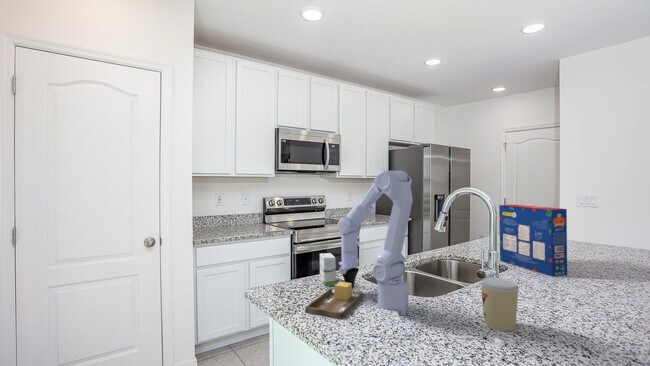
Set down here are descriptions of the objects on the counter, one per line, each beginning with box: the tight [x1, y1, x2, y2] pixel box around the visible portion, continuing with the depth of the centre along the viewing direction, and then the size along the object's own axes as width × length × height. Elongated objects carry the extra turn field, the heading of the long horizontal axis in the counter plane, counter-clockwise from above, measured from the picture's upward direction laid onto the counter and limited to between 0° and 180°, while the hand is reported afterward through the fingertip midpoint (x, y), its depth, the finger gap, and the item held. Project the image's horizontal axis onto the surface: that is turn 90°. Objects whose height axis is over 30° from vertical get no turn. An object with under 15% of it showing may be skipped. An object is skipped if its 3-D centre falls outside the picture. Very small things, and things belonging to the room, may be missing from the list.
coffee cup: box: [480, 277, 520, 332], centre depth 90 cm, size 9×9×12 cm
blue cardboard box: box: [498, 204, 568, 277], centre depth 148 cm, size 28×8×28 cm, turn 14°
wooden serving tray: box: [304, 287, 364, 320], centre depth 104 cm, size 12×19×3 cm, turn 155°
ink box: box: [319, 252, 337, 287], centre depth 127 cm, size 9×5×12 cm, turn 12°
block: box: [334, 281, 353, 301], centre depth 110 cm, size 4×4×4 cm
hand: (349, 288), depth 115 cm, fingers closed
